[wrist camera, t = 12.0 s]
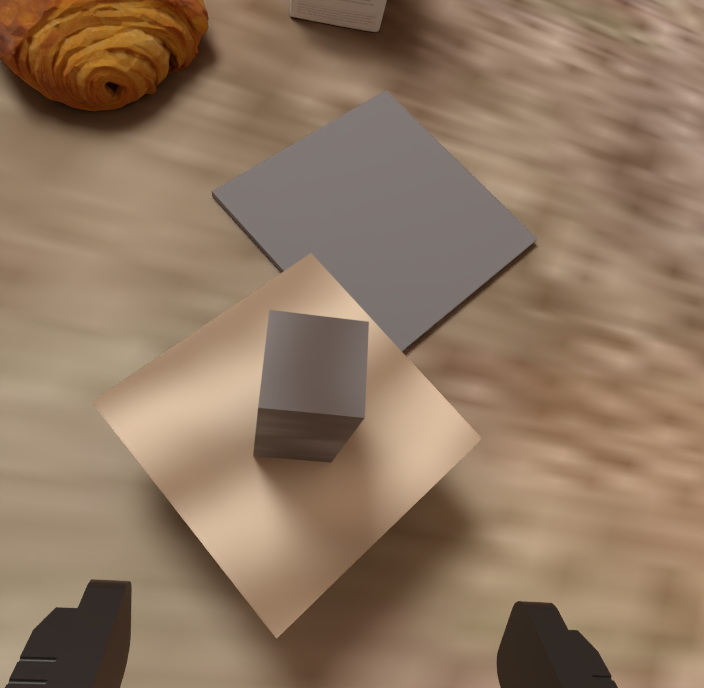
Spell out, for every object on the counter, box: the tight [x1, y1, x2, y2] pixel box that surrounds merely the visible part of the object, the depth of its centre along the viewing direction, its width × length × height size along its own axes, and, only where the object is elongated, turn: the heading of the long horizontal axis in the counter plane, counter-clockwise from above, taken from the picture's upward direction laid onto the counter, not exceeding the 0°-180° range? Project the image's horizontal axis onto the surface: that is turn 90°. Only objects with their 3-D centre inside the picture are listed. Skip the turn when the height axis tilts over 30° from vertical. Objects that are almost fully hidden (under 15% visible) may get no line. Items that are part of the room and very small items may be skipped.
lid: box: [92, 253, 482, 639], centre depth 24 cm, size 13×13×9 cm
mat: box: [212, 90, 537, 352], centre depth 40 cm, size 16×16×1 cm
